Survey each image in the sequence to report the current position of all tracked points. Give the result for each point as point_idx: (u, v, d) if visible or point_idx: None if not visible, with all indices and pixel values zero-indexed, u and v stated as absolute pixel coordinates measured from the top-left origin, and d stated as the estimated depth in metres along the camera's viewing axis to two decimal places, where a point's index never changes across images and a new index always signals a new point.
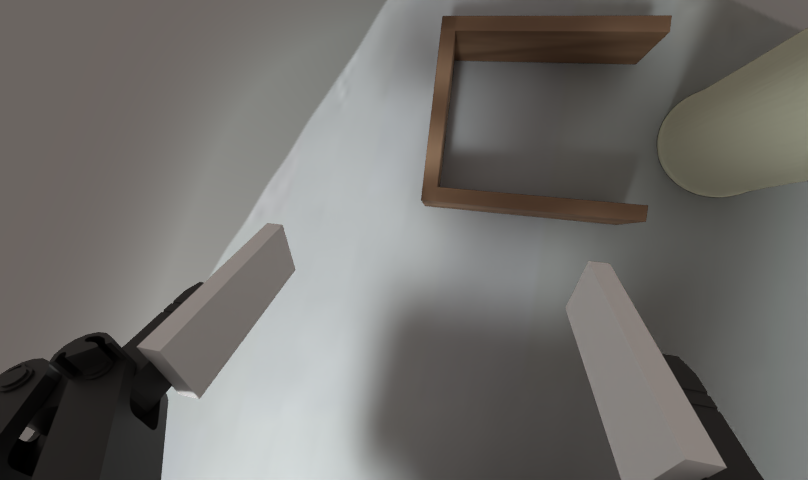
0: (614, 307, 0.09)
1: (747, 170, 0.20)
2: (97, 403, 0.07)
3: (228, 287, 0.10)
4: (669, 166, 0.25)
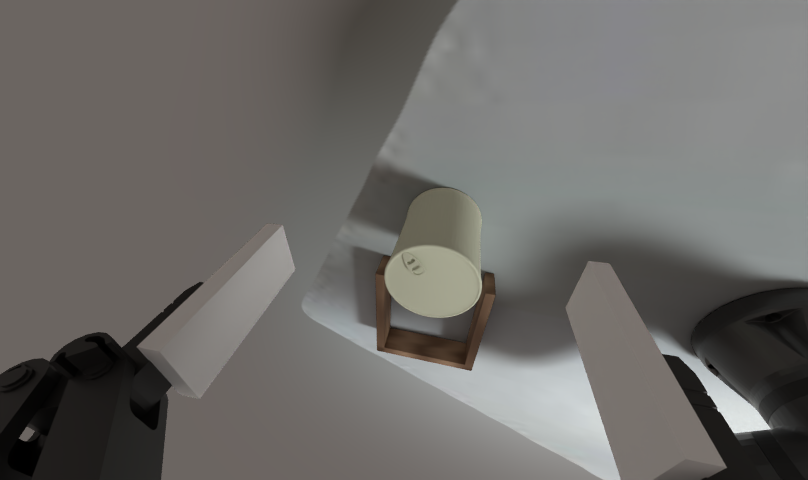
0: (614, 307, 0.09)
1: None
2: (97, 403, 0.07)
3: (228, 287, 0.10)
4: None
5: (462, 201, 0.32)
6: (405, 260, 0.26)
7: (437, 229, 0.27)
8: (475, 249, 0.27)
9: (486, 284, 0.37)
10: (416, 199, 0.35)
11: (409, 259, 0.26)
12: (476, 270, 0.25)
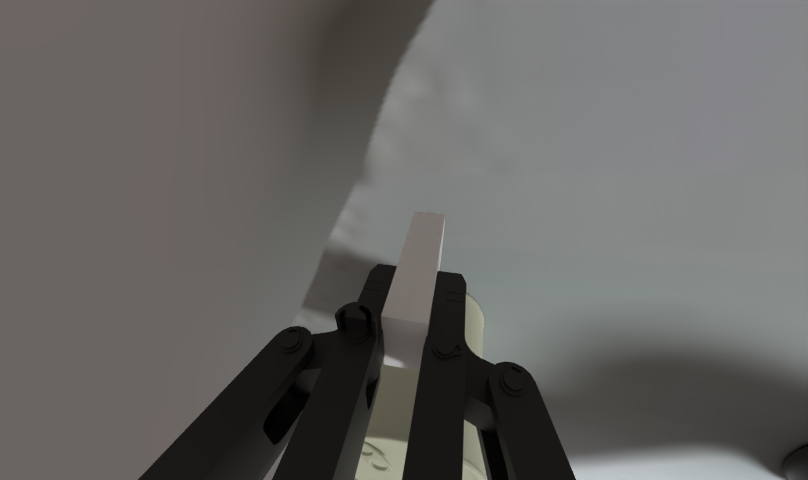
0: (426, 241, 0.12)
1: None
2: (350, 371, 0.08)
3: None
4: None
5: None
6: None
7: (410, 388, 0.16)
8: None
9: None
10: None
11: (363, 450, 0.15)
12: (476, 473, 0.15)
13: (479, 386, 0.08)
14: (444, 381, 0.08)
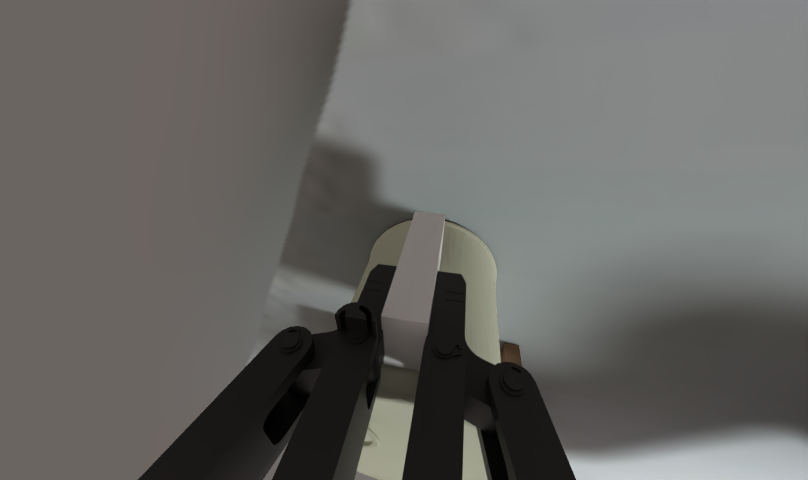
0: (426, 241, 0.12)
1: None
2: (350, 371, 0.08)
3: None
4: None
5: (460, 245, 0.17)
6: None
7: None
8: None
9: None
10: (380, 240, 0.20)
11: None
12: None
13: (479, 386, 0.08)
14: (443, 381, 0.08)
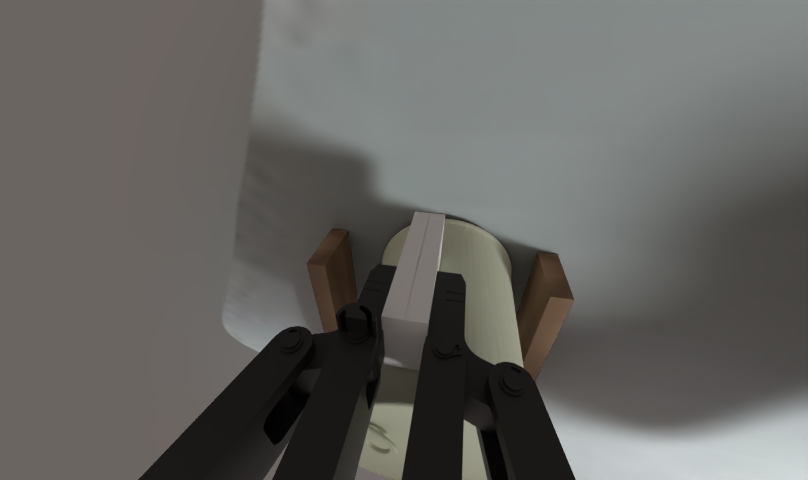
0: (425, 241, 0.12)
1: None
2: (351, 371, 0.08)
3: None
4: None
5: (460, 239, 0.17)
6: None
7: None
8: (502, 357, 0.12)
9: (546, 276, 0.17)
10: (386, 250, 0.20)
11: None
12: None
13: (479, 386, 0.08)
14: (443, 381, 0.08)
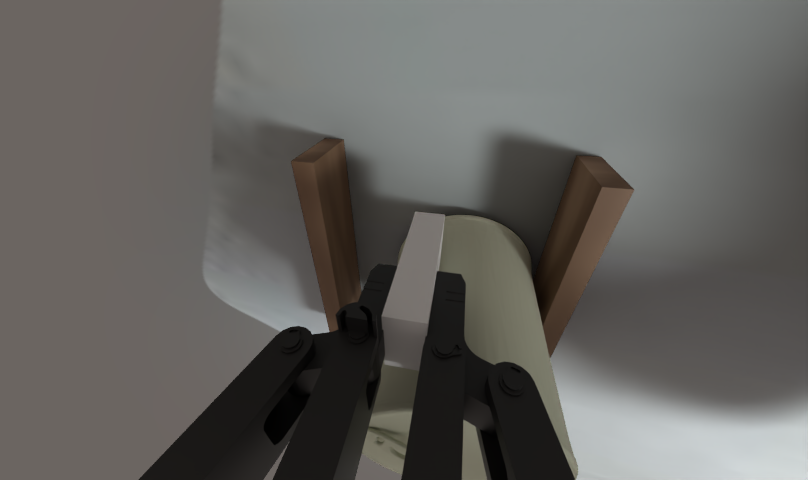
0: (425, 241, 0.12)
1: None
2: (351, 371, 0.08)
3: None
4: None
5: (459, 234, 0.17)
6: (369, 440, 0.12)
7: None
8: (510, 347, 0.11)
9: (593, 172, 0.13)
10: (398, 260, 0.21)
11: (373, 438, 0.12)
12: None
13: (478, 386, 0.08)
14: (443, 381, 0.08)
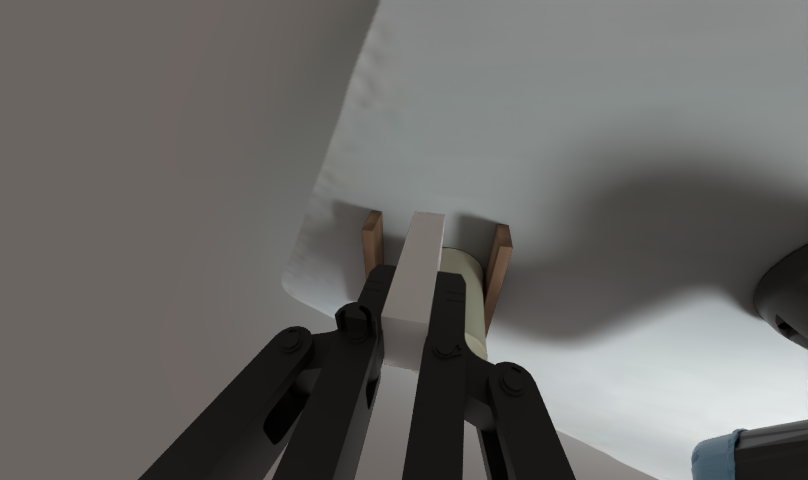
0: (426, 241, 0.12)
1: None
2: (350, 371, 0.08)
3: None
4: None
5: (446, 258, 0.34)
6: None
7: None
8: None
9: (500, 236, 0.30)
10: None
11: None
12: (466, 333, 0.26)
13: (479, 386, 0.08)
14: (443, 381, 0.08)
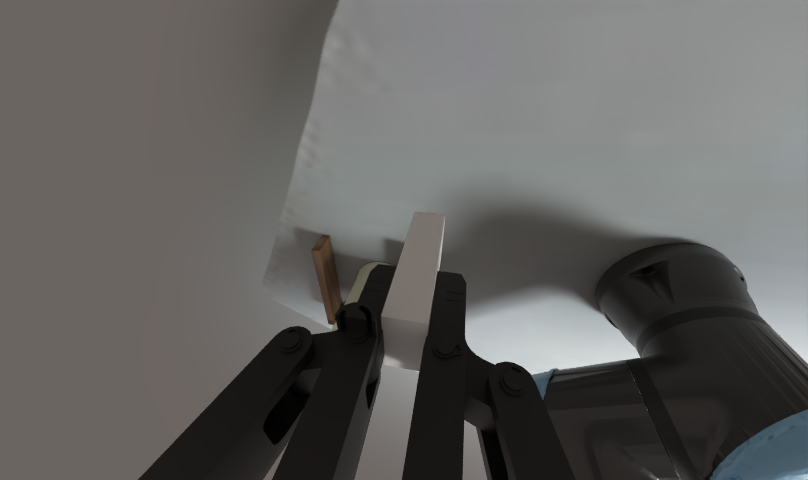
0: (426, 241, 0.12)
1: None
2: (350, 371, 0.08)
3: None
4: None
5: None
6: None
7: None
8: None
9: None
10: None
11: None
12: None
13: (479, 386, 0.08)
14: (443, 381, 0.08)
